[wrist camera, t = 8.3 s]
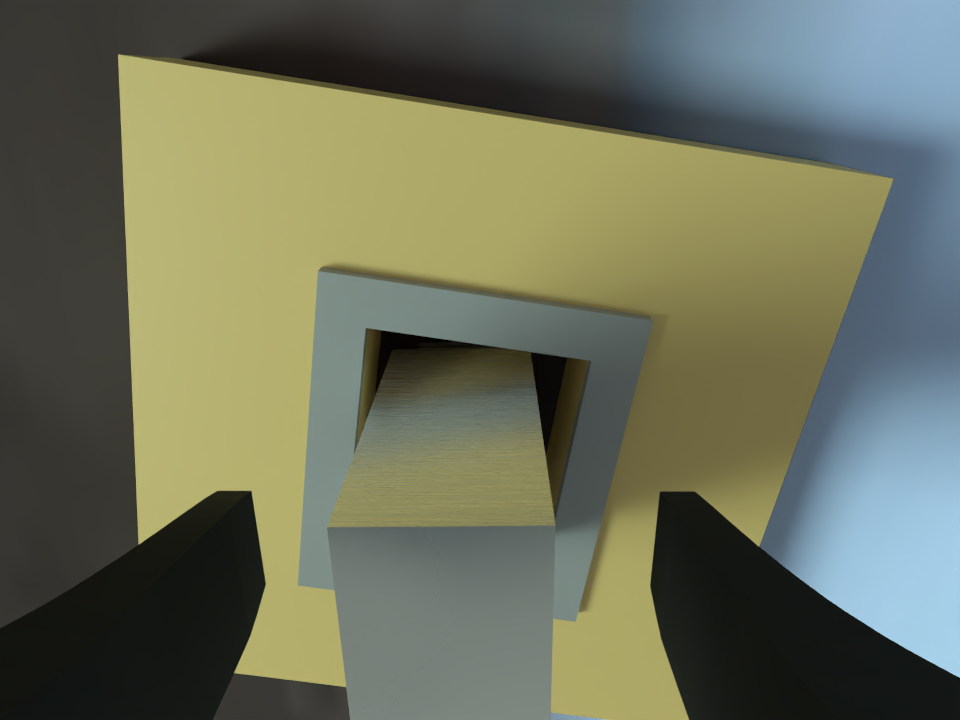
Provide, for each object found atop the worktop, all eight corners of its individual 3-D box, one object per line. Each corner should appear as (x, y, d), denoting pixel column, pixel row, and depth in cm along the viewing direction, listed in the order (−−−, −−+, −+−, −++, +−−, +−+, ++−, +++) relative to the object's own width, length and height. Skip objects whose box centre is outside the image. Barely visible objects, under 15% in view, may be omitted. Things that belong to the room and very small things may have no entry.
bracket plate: (831, 163, 15) (902, 180, 12) (669, 655, 20) (695, 740, 18) (178, 58, 14) (109, 54, 12) (184, 592, 20) (138, 671, 17)
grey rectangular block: (526, 325, 16) (555, 526, 9) (525, 471, 18) (549, 745, 11) (400, 326, 17) (327, 527, 9) (410, 472, 18) (353, 746, 11)
